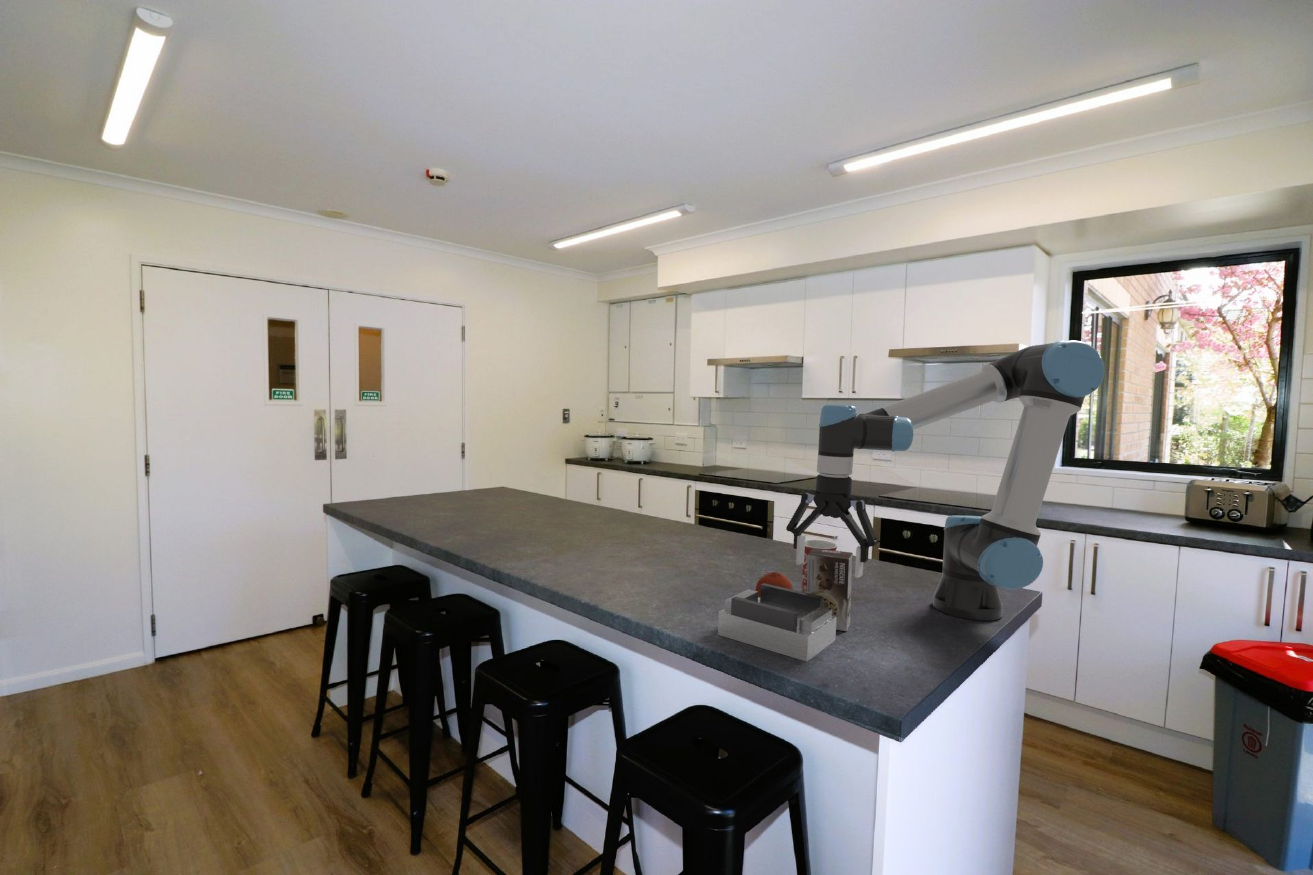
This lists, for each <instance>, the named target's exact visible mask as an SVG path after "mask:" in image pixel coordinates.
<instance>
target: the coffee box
mask: <svg viewBox="0 0 1313 875" xmlns="http://www.w3.org/2000/svg"><path fill="white" fill-rule="evenodd" d="M852 569H853V552H849V551H841V550H836V551H834V550H825V549H815V548H813V549H812V550H811V551H810V553H809V554H808V555H807V593H809V594H813V595H817V596H822V597H823V607H824V608H828V609H832V616H836V631H843V632H847V631H848V629H849V628H850V624H851V610H852V609H851V607H852V606H851V604H852V603H851V602H852V579H853V578H852V577H853V573H852V572H853V570H852Z"/></svg>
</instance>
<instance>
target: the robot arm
mask: <svg viewBox="0 0 1313 875" xmlns="http://www.w3.org/2000/svg"><path fill="white" fill-rule="evenodd" d="M1105 368H1106V367H1105V363H1104V360H1103V358H1102V356H1101V355H1100V353H1099V351H1097V349H1096V348H1095V347H1093V346H1092V345H1090V344H1088V343H1087V342H1084V341H1080V340H1065V339H1064V340H1059V341H1057V340H1056V341H1054V342H1051V343H1044V344H1036V345H1032V346H1028V347H1027V346H1026V347H1024V348H1021V349H1019V350H1017V351H1014V352H1013V353H1011V354H1009V355H1006V356H1004V357H1001V358H1000V359H997V360H995V361H993V362H989V363H987V364H985V365H983V366H982V368H981V369H980V371H978V372H975V373H972V374H969V375H966V376H964V377H961V378H959V379H956V380H954V381H951V382H948V383H945V384H942V385H939V386H937V387H934V388H932V389H929V390H926V391H923V392H921V393H918V394H915V395H912V396H909V397H906V398H904V399H902V400H901V399H900V400H898V401H896V402H893V403H890V404H888V405H885V406H883V407H880V408H878V409H874V410H872V411H869V412H866V413H858V412H857V407H856V406H854V405H839V404H825V405H823V406H822V408H821V410H820V417H819V418H820V419H819V424H818V427H819V428H818V429H819V430H818V431H819V432H818V451H817V460H816V461H817V462H816V463H817V464H816V473H818V474H817V475H816V478H815V494H812V493H811V492H804V493H802V494H801V497H800V502H799V505H798V506H797V508H796V510H794V513H793V515H792V516H791V518H790V520H789V522H788V524H787V525H786V529H785V530H786V531H787V532H790V533H792V534H793V544H792V547H793V549H795V550H796V552H795V553H796V556H795V566H800V565H802V564H803V563H804V553H805V540H806V534H804V532H805V531H806V530H807V529H808V528H809V527H810V526H811V525H812V524H813V523H814V522H815V521H816V520H817V519H818V518H819V517H820V516H821V515H822V516H823V517H831V518H833V519H838V518H840V520H841V521H842V522H843V523H844V524H845V525H846V527H847V528H848V530H849V531H850V532H851V533H850V534H852V536H853V537H854V538H855V541H856V542H857V543H858V546H857V547H856V549H855V550H856V551H855V567H854V578H857V579H858V578H860V577H862V576H863V573H864V563H867V562H868V560H869V551H870V547H875V546H876V545H878V544H879V540H878V537H877V535H876V532H875V529H874V528H873V525H872V523H871V520H870V517H869V514H868V513H867V508H866V504H867V503H866V501H865V499H861V500H852V496H851V495H852V487H853V486H852V484H853V479H852V477H851V476H852V474H853V466H854V465H853V464H854V452H855V450H872V451H891V452H904V451H908V450H909V449H910V447H911V446H912V443H913V440H914V430H916V429H919V428H922V427H925V426H927V425H930V424H933V423H935V422H938V421H942V420H944V419H947V418H949V417H952V416H955V415H957V414H961V413H963V412H966V411H969V410H972V409H975V408H977V407H979V406H980V407H981V406H983V405H985V404H988V403H991V402H996V403H999V404H1001V403H1004V402H1006V401H1010V400H1013V399H1018V400H1019V401H1020V403H1021V404H1022V405H1023V409H1022V412H1021V416H1020V418H1019V421H1018V425H1017V429H1016V431H1015V434H1014V438H1013V441H1012V445H1011V447H1010V450H1009V453H1008V457H1007V461H1006V463H1005V467H1004V469H1003V473H1002V476H1001V479H1000V481H999V486H998V489H997V492H996V496H995V499H994V502H993V506H992V508H991V510H990V511H989V512H988V513H985V514H984V515H983V514H982V515H981V516H978V515H960V514H959V515H957V514H956V515H955V514H954V515H949V516H947V517H946V520H945V523H944V528H943V531H944V533H943V534H944V535H943V551H942V552H943V553H942V554H943V555H942V556H943V557H942V571H941V572H942V573H941V577H940V579H939V582H937V583H938V584H937V586H936V588H935V590H934V593H933V597H932V606H933V608H934V609H935V610H937V611H939V612H941V613H943V614H946V615H949V616H953V617H956V618H962V619H966V620H974V621H996V620H999V619H1001V618H1002V617H1003V613H1004V605H1003V603H1002V602H1003V601H1002V599H1001V596H1000V592H999V589H1002V590H1008V591H1015V590H1016V591H1017V590H1021V589H1023V588H1025V587H1028V586H1030V585H1031V584H1033V583H1034V582H1035V581H1036V580H1037V579H1038V577H1040V575H1041V573H1042V570H1043V568H1044V566H1043V565H1044V558H1043V554H1042V553H1041V550H1040V548H1039V547H1038V544H1039V541H1040V538H1041V536H1042V534H1041V532H1040V530H1039V528H1038V527H1037V524H1036V523H1037V521H1038V520H1037V519H1038V517H1039V514H1040V510H1041V508H1042V505H1043V501H1044V498H1045V494H1046V492H1047V488H1048V485H1049V482H1050V479H1051V476H1052V473H1053V469H1054V466H1055V463H1056V460H1057V457H1058V455H1059V451H1060V447H1061V444H1062V442H1063V438H1064V435H1065V432H1066V429H1067V427H1068V423H1069V420H1070V418H1071V416H1073V415H1075V414H1077V413H1078V412H1081V411H1082V407H1083V404H1084V401H1085V398H1086V396H1088V395H1090V394H1092V393H1094V392H1095V391H1096V390H1098V388H1100V386H1101V385H1102V383H1103V380H1104V378H1105V371H1106V370H1105ZM812 502H813V503H814V505H815V506H816V507H815V508H814V509H813V510H812V511H811V513H809V515H808V516H807V517H806V518H805V519H804V520H803V521H802V522H801V523H800V521H801V519H802V518H803V516H804V515H805V512H806V511H807V510H808V507H809V506H810V504H812ZM850 508H853V510H854V511H855V512H856V515H857V518H858V520H859V523H860V525H861V528H862V529H861V528H860V526H859V525H858V523H857V522H856V521H855V519H854V517H853V514H852V513H851V512H850V510H849V509H850ZM799 523H800V524H799ZM862 530H863V531H862Z"/></svg>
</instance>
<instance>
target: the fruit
mask: <svg viewBox="0 0 1313 875" xmlns="http://www.w3.org/2000/svg"><path fill="white" fill-rule="evenodd" d="M763 583H765V584H770V585H774V586H778V587H783V588H787V589H791V590H794V589H793V586H792V584H791V581H790V580H789V579H788V578H787V577H786V576H785V575H783V574H782V573H780V572H778V571H777V572H776V571H775V572H774V571H773V572H772V571H771V572H768V573H766V574H764V575H763V576H761V577H760V579H759V580H758V581H757V583H756V585H755V589H754V591H758V597H759V598H760V590H761V584H763Z"/></svg>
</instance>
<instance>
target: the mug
mask: <svg viewBox="0 0 1313 875" xmlns="http://www.w3.org/2000/svg"><path fill="white" fill-rule="evenodd" d="M813 548H815V549H825V550H834V551H837V549H838V544H836V543H834V542H831V541H827V540H823V539H822V540H821V539H805V553H804V563H803V564H801V592H804V593H807V555H808V554H809V553H810V551H811V550H812V549H813Z"/></svg>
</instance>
